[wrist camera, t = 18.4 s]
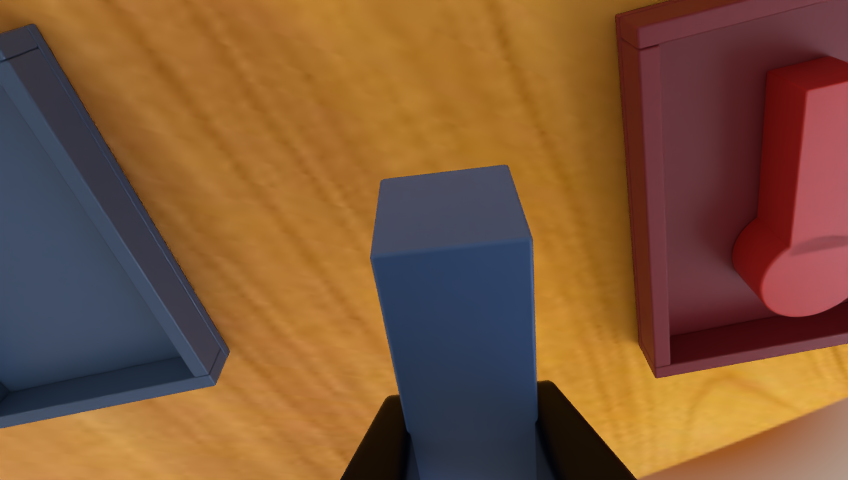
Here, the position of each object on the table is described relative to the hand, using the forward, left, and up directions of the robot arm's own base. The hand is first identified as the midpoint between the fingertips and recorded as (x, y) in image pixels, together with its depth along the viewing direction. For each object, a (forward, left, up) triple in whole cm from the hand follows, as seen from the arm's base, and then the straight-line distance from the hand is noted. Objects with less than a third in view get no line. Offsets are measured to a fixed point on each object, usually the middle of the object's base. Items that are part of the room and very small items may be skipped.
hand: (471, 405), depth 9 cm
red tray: (-4, -11, -11) cm, 16 cm away
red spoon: (-4, -11, -11) cm, 16 cm away
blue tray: (0, +16, -11) cm, 19 cm away
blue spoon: (0, 0, -1) cm, 1 cm away
